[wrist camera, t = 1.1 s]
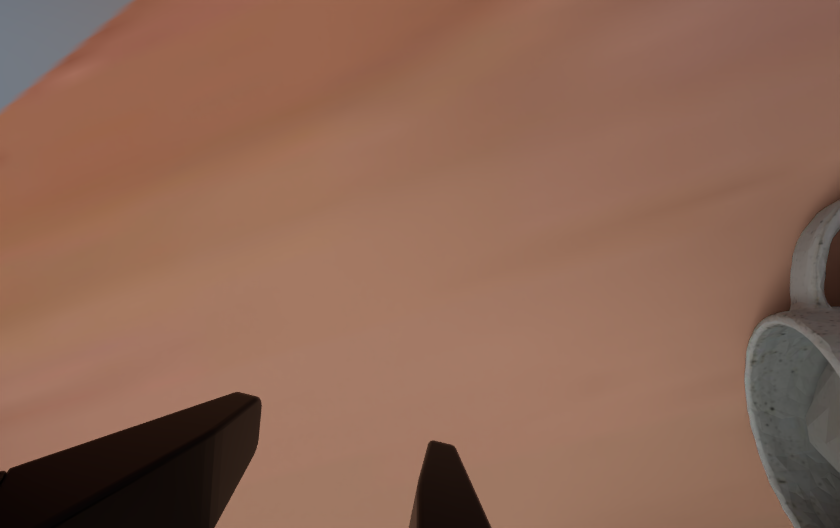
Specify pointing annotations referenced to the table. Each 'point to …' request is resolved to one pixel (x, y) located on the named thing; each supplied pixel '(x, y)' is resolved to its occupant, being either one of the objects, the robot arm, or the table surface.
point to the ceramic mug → (800, 386)
